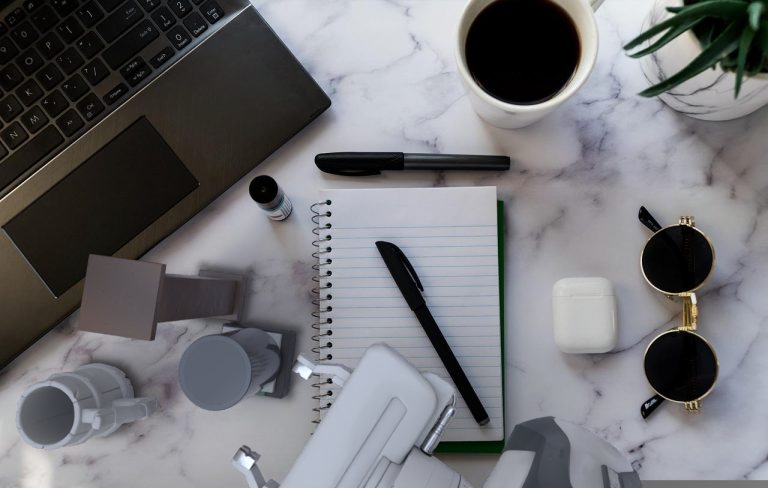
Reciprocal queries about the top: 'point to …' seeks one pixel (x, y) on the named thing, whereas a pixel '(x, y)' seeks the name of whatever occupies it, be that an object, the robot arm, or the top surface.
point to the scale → (286, 347)
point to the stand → (153, 297)
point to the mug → (79, 407)
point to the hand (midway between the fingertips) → (266, 406)
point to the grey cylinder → (228, 367)
